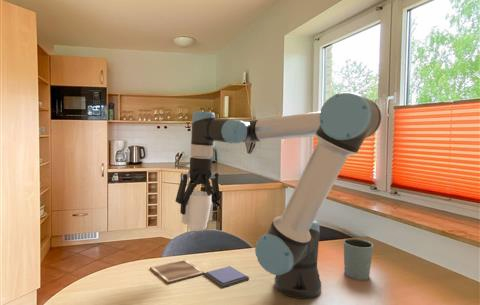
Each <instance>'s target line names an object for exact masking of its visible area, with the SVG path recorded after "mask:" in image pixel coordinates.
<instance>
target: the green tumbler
mask: <svg viewBox="0 0 480 305" xmlns="http://www.w3.org/2000/svg"><path fill="white" fill-rule="evenodd" d="M373 250H374V244H373V243H372V242H371V241H368V240H365V239H362V238H345V239H344V240H343V263H344V264H343V265H344V269H343V271H344V275H345V276H346V277H348V278H350V279H353V280H357V281H365V280H368V279H369V277H370V275H371V274H370V273H371V272H370V271H371V267H372V266H371V264H372V256H373V255H372V254H373Z"/></svg>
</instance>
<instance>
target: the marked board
mask: <svg viewBox="0 0 480 305" xmlns="http://www.w3.org/2000/svg"><path fill="white" fill-rule="evenodd" d="M149 270H150V271H152V272H153V273H154V274H155V275H156V276H157V277H158V278H160V279H161V280H162V281H163V282H164V283H165V284H166V285H171V284H174V283H178V282H182V281H185V280H188V279H194V278H197V277H200V276H205V275H204V273H205V271H203V270H201V269H200V268H199V267H197V266H195V265H194V264H192V263H191V262H190V261H188V260H187V259H184V258H183V259H179V260H176V261H172V262H167V263H162V264H159V265H158V264H157V265H155V266H151V267H149Z"/></svg>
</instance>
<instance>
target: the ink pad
mask: <svg viewBox="0 0 480 305" xmlns="http://www.w3.org/2000/svg"><path fill="white" fill-rule="evenodd" d="M203 276H204V277H205V278H207V279H208V280H211V281H212V282H213V283H215V284H216V285H217V286H219V287H221V289H224V288H227V287H229V286H233V285H236V284H240V283H242V282H246V281H249V280H250V277H249V276H247V275H246V274H244V273H242V272H241V271H239V270H237V269H235V268H234V267H232V266H230V265H229V266H225V267H222V268H218V269H215V270H210V271H207V272H204V275H203Z"/></svg>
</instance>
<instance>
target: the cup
mask: <svg viewBox="0 0 480 305" xmlns="http://www.w3.org/2000/svg"><path fill="white" fill-rule="evenodd" d="M211 203H212V194H211V195H210V196H208V195H207V192H206V191H202V190H201V191H200V190H193V192H192V194H191V195H190V198H189V200H188V202H187V205H189V209H188V224H186V227H187V229H188V230H191V231H204V230H206V229H207V227H208V222H209V220H208V218H209V213H210V208H211Z"/></svg>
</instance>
